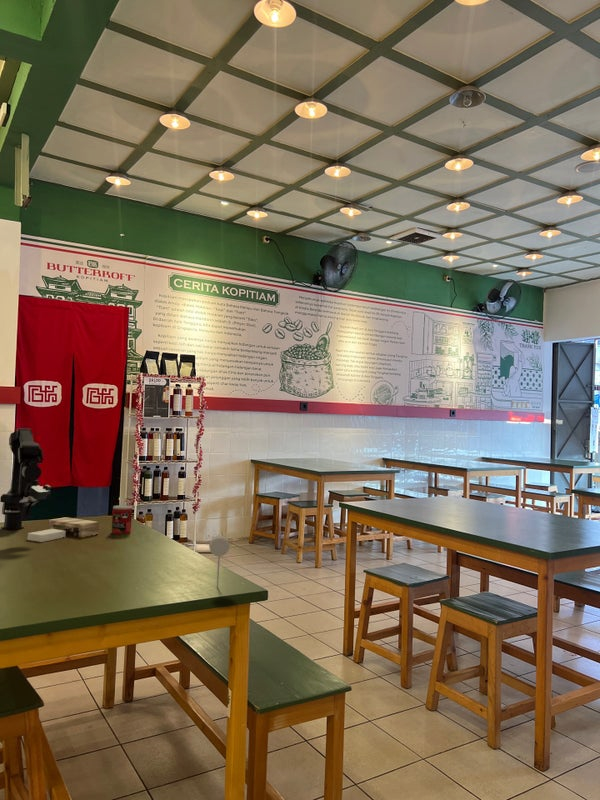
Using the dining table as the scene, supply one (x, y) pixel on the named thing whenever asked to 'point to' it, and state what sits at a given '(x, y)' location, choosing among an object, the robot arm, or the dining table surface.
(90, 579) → the dining table surface
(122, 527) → the canned food
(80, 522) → the oak shelf
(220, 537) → the lollipop
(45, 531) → the flat white block
